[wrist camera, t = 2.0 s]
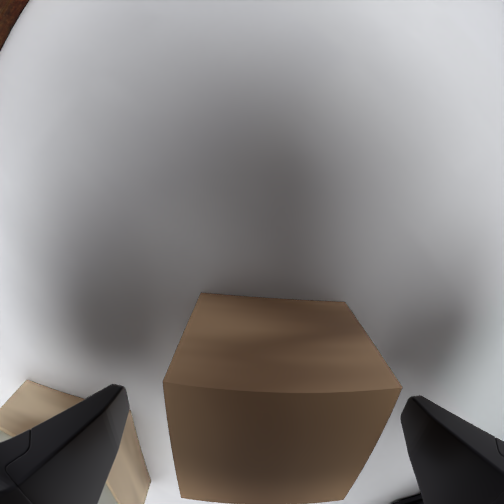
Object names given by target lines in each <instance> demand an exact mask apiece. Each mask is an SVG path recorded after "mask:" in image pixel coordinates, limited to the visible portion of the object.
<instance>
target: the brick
mask: <svg viewBox="0 0 504 504" xmlns="http://www.w3.org/2000/svg"><path fill="white" fill-rule="evenodd" d="M28 1H29V0H0V50H1V48H2V46H3V44H4V42H5V40H6V38H7V36H8V34H9V32H10V30H11V28H12V27H13V25H14V24H15V22H16V20H17V18H18V17H19V15H20V13H21V12H22V10H23V9H24V7H25V6H26V4H27V3H28Z"/></svg>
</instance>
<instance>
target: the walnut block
mask: <svg viewBox="0 0 504 504" xmlns="http://www.w3.org/2000/svg"><path fill="white" fill-rule="evenodd" d="M401 389H402V386H401V385H400V383H399V381H398V380H397V378H396V377H395V375H394V374H393V372H392V371H391V369H390V368H389V366H388V365H387V363H386V362H385V360H384V359H383V357H382V355H381V354H380V352H379V351H378V349H377V348H376V347H375V345H374V344H373V342H372V341H371V339H370V338H369V336H368V335H367V333H366V332H365V330H364V329H363V327H362V326H361V324H360V323H359V322H358V320H357V319H356V317H355V316H354V314H353V313H352V311H351V310H350V309H349V307H348V306H347V304H346V303H345V302H335V301H313V300H294V299H278V298H262V297H248V296H235V295H223V294H211V293H201V294H200V296H199V298H198V300H197V303H196V305H195V307H194V309H193V312H192V314H191V316H190V319H189V321H188V323H187V325H186V328H185V330H184V332H183V335H182V337H181V339H180V342H179V344H178V346H177V349H176V351H175V354H174V356H173V358H172V361H171V363H170V365H169V368H168V370H167V373H166V375H165V377H164V380H163V390H164V398H165V406H166V414H167V421H168V428H169V435H170V441H171V448H172V453H173V459H174V465H175V470H176V475H177V480H178V485H179V490H180V495H181V498H186V499H193V500H201V501H209V502H219V503H231V504H308V503H320V502H330V501H338V500H343V499H344V498H345V496H346V495H347V493H348V492H349V490H350V489H351V487H352V485H353V484H354V482H355V481H356V479H357V477H358V476H359V474H360V472H361V471H362V469H363V467H364V465H365V464H366V462H367V460H368V458H369V456H370V455H371V453H372V451H373V449H374V447H375V445H376V443H377V441H378V439H379V438H380V436H381V434H382V432H383V430H384V427H385V425H386V423H387V421H388V419H389V417H390V415H391V413H392V410H393V408H394V406H395V404H396V401H397V399H398V397H399V394H400V392H401Z"/></svg>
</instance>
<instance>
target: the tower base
mask: <svg viewBox="0 0 504 504" xmlns="http://www.w3.org/2000/svg"><path fill="white" fill-rule="evenodd" d="M83 400H84V399H83V398H79V397H76V396H73V395H69V394H66V393H63V392H60V391H57V390H54V389H51V388H48V387H46V386H43V385H40V384H37V383H35V382H32V381H29V380H26V381H25V382H24V383H23V384H22V385H21V386H20V388H19V389H18V390H17V391H16V392H15V393H14V394H13V395H12V396H11V397H10V398H9V399H8V400H7V402H6V403H5V404H4V405H3V406H2V407H1V408H0V430H1V431H3V432H4V433H6V434H8V435H10V436H12V437H14V436H16V435H18V434H21V433H23V432H25V431H26V430H28V429H30V430H31V428H32V427H34V426H36V425H38V424H40V423H42V422H44V421H46V420H48V419H50V418H51V417H53V416H55V415H57V414H59V413H61V412H63V411H64V410H66V409H68V408H70V407H72V406H74V405H75V404H77V403H79V402H81V401H83ZM150 483H151V479H150V476H149V473H148V470H147V467H146V464H145V461H144V458H143V454H142V451H141V448H140V444H139V441H138V437H137V434H136V430H135V426H134V422H133V418H132V414H131V410H129V413H128V417H127V420H126V424H125V428H124V431H123V435H122V439H121V443H120V446H119V450H118V453H117V455H116V458H115V460H114V463H113V465H112V468H111V470H110V473H109V475H108V478H107V480H106V484H107V486H108V488H109V489H110V491H111V493H112V494H113V496H114V498H115V499H116V501H117V503H118V504H144V503H145V499H146V496H147V493H148V489H149V486H150Z"/></svg>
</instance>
